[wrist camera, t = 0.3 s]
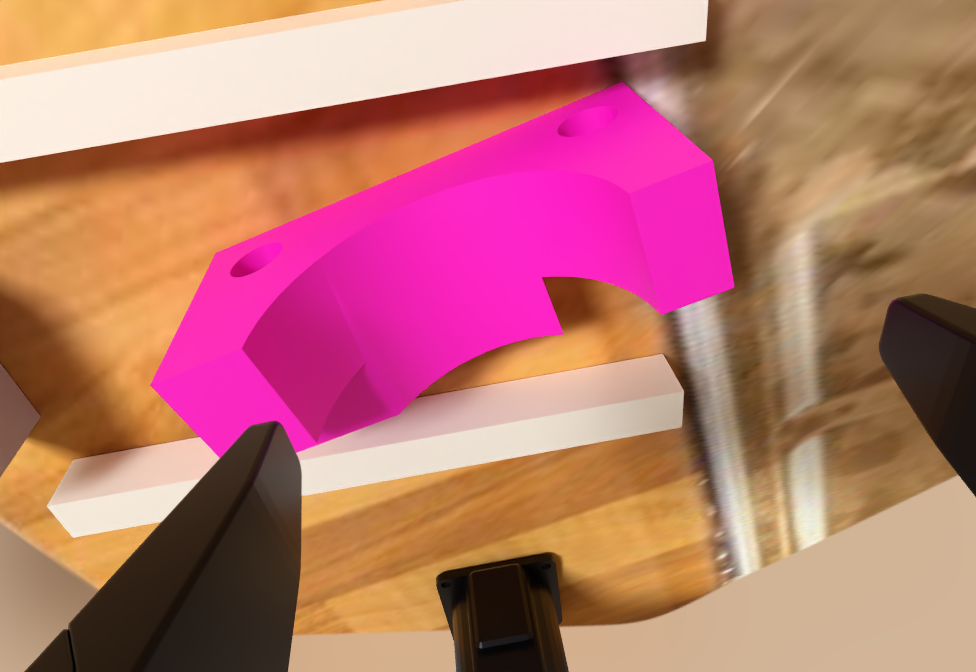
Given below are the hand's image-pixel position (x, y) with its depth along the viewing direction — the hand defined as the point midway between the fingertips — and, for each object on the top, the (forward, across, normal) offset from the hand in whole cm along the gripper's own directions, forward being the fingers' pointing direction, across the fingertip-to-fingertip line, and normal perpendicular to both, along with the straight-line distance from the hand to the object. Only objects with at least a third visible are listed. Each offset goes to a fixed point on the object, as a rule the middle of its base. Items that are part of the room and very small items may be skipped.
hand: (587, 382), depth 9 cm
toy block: (+14, +2, +4) cm, 15 cm away
